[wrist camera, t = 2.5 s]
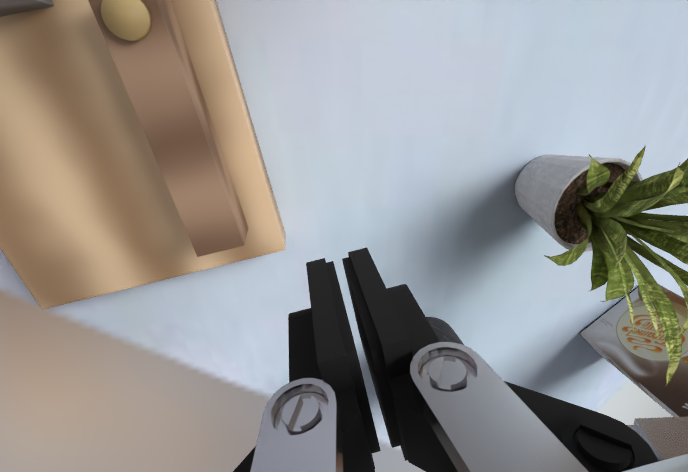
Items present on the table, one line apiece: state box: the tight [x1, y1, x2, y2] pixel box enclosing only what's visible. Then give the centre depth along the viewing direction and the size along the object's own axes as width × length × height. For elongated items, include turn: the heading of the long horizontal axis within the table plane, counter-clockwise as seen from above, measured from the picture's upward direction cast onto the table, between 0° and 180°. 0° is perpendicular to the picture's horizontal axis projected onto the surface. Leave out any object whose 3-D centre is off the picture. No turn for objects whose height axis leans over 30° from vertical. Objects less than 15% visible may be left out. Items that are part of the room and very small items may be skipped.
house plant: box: [514, 147, 688, 387], centre depth 25 cm, size 14×14×16 cm
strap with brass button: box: [88, 0, 248, 257], centre depth 21 cm, size 14×3×4 cm, turn 12°
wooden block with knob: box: [0, 0, 285, 310], centre depth 22 cm, size 18×20×6 cm
